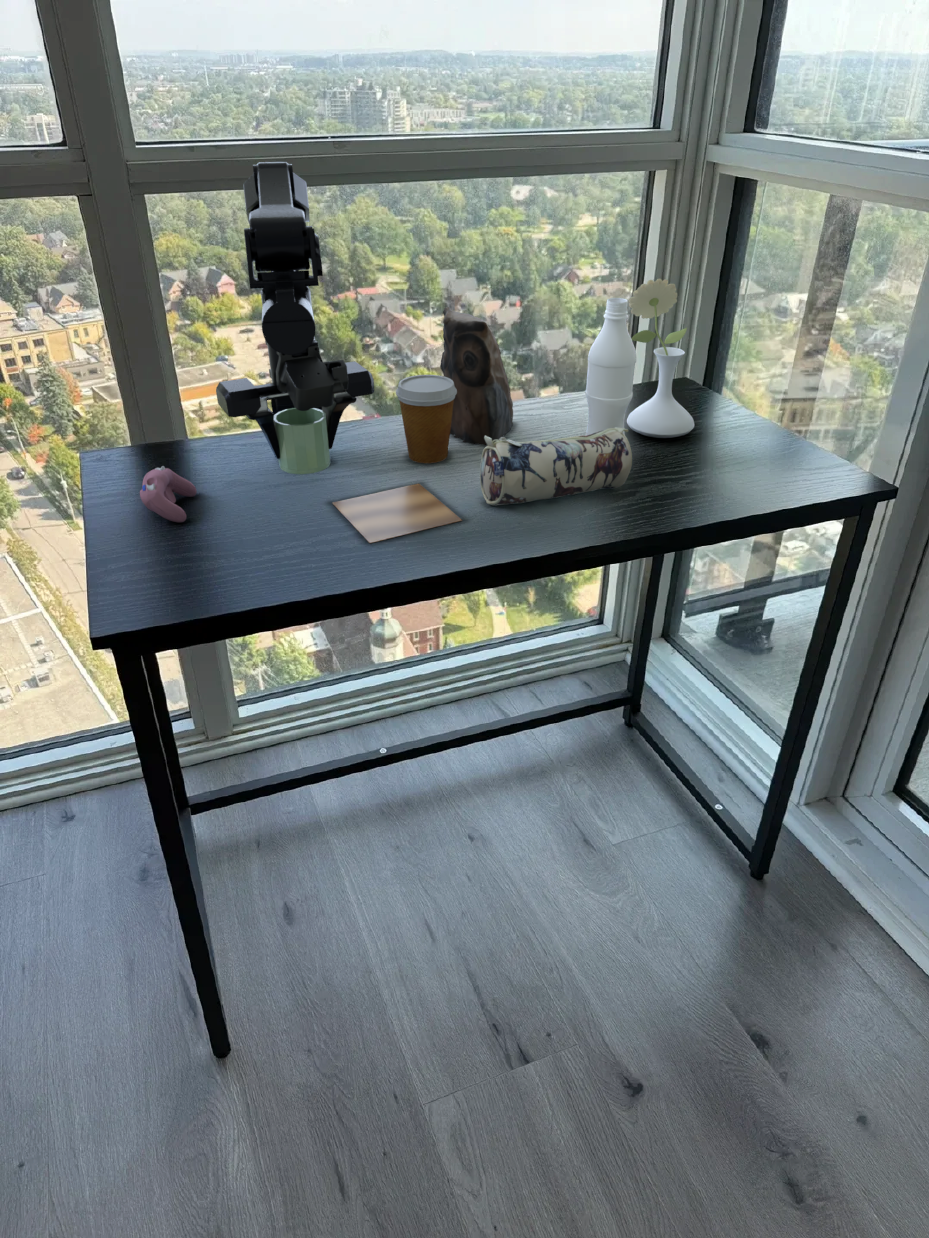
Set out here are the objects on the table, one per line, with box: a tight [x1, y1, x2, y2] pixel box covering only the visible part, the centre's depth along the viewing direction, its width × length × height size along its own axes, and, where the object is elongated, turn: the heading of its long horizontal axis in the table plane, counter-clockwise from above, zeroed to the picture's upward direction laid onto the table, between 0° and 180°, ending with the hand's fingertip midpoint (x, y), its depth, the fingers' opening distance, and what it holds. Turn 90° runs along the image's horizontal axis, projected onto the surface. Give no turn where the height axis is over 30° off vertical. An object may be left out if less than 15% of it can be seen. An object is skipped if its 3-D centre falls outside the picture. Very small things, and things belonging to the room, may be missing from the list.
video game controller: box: [139, 465, 198, 523], centre depth 122 cm, size 10×5×7 cm, turn 5°
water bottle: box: [584, 297, 637, 436], centre depth 130 cm, size 7×7×25 cm
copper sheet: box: [331, 482, 463, 544], centre depth 123 cm, size 14×14×1 cm
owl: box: [439, 306, 514, 447], centre depth 143 cm, size 13×13×20 cm
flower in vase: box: [626, 278, 695, 439], centre depth 142 cm, size 13×11×25 cm
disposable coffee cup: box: [395, 374, 457, 464], centre depth 136 cm, size 10×10×12 cm
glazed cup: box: [274, 408, 331, 475], centre depth 111 cm, size 7×7×6 cm
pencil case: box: [479, 427, 633, 506], centre depth 125 cm, size 22×8×10 cm, turn 108°
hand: (303, 453), depth 112 cm, fingers closed on glazed cup, 6 cm apart
